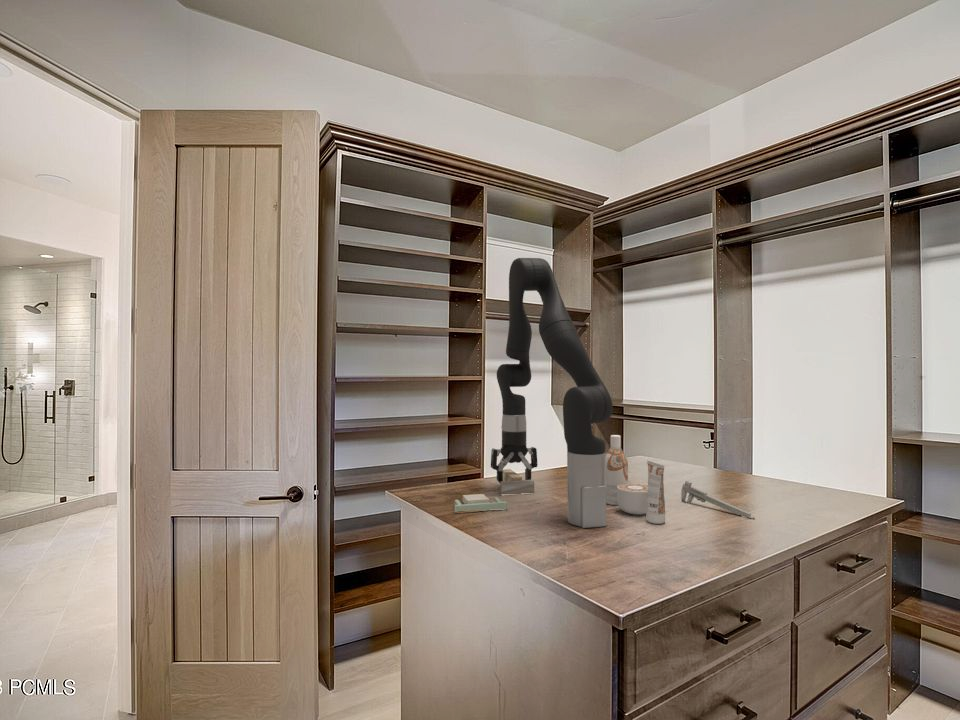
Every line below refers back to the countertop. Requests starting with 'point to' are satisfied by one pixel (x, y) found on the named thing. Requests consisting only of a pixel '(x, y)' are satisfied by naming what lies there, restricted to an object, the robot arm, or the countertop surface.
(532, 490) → the grey rectangular block
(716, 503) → the caliper
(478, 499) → the tile
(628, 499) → the cosmetic set
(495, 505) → the tile stop
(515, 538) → the countertop surface
